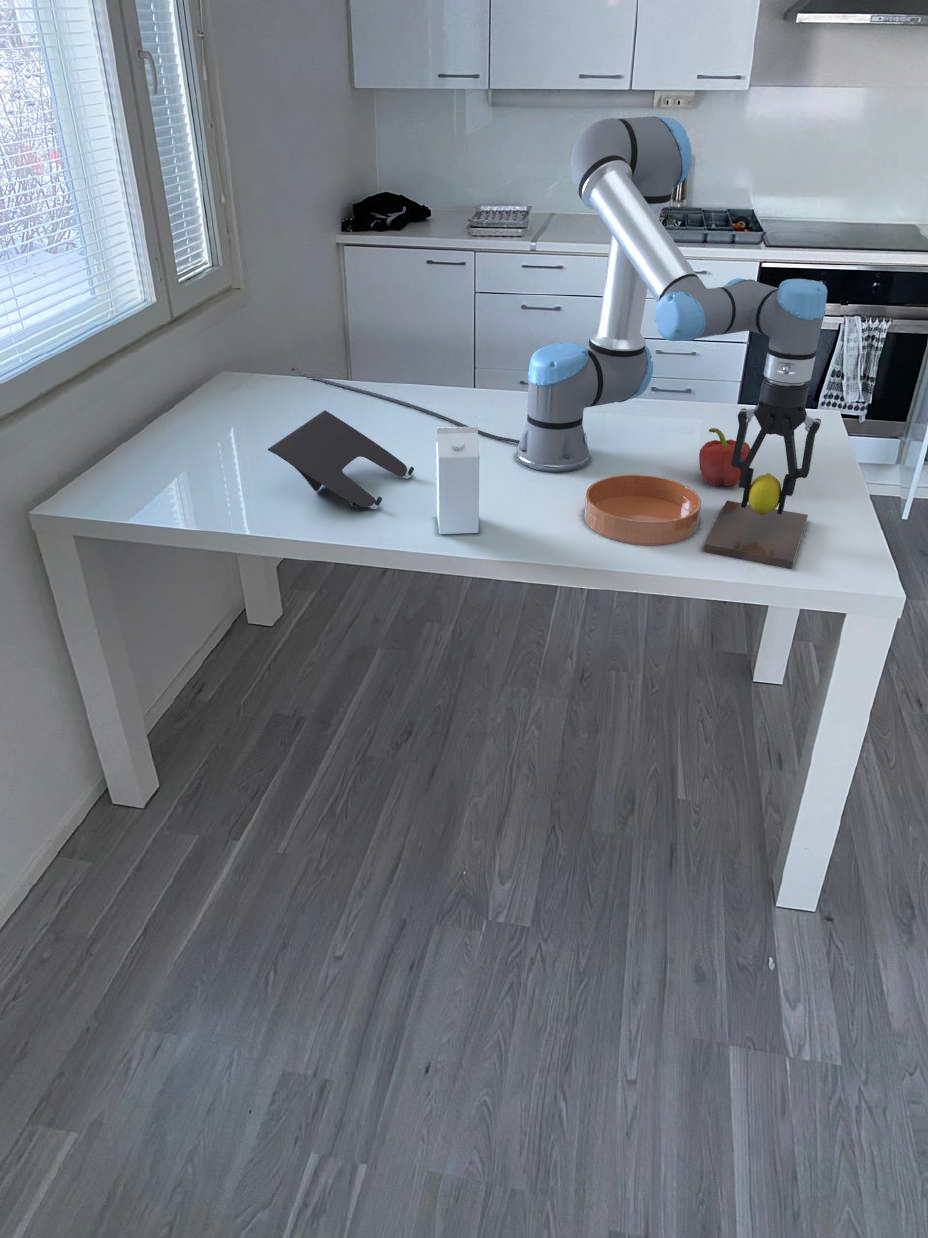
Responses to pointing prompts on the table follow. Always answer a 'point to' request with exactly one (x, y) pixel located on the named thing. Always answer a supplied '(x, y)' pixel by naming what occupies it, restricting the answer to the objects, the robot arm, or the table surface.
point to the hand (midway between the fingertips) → (762, 507)
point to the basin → (642, 509)
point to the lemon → (764, 494)
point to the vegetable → (720, 460)
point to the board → (757, 535)
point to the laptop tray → (335, 456)
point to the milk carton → (457, 480)
